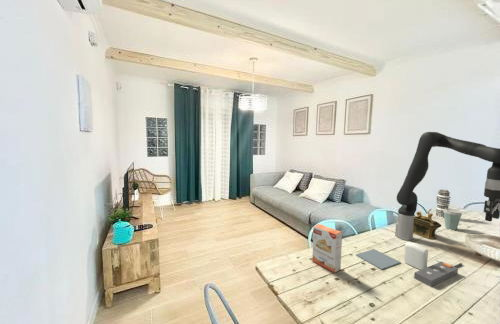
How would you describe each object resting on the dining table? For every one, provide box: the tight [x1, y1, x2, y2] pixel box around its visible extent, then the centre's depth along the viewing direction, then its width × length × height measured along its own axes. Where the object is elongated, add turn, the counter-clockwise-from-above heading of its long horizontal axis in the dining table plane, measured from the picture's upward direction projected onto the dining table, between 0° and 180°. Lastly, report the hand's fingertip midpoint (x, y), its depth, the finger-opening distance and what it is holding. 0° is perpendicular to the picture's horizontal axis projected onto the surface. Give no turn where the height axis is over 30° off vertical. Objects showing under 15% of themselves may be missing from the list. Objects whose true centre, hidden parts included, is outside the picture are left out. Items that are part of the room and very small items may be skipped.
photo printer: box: [403, 241, 429, 270], centre depth 116 cm, size 10×4×12 cm, turn 26°
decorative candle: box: [435, 189, 451, 218], centre depth 191 cm, size 9×9×25 cm
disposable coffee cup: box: [443, 208, 463, 231], centre depth 166 cm, size 11×11×15 cm
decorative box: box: [413, 208, 442, 240], centre depth 157 cm, size 20×10×20 cm, turn 19°
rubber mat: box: [355, 248, 402, 271], centre depth 123 cm, size 16×16×1 cm
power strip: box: [413, 261, 463, 288], centre depth 110 cm, size 7×37×4 cm, turn 114°
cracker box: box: [312, 223, 343, 274], centre depth 116 cm, size 14×6×21 cm, turn 37°
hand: (492, 219), depth 109 cm, fingers open, 8 cm apart
